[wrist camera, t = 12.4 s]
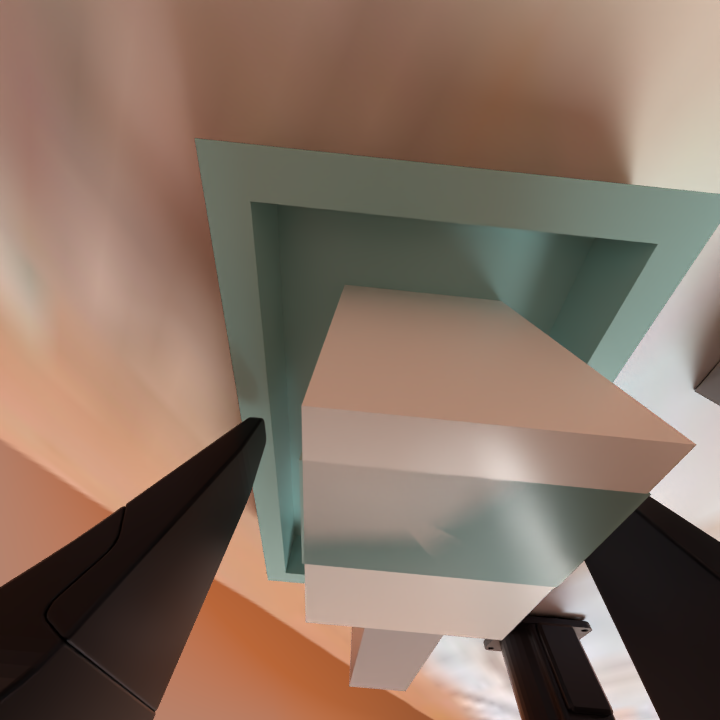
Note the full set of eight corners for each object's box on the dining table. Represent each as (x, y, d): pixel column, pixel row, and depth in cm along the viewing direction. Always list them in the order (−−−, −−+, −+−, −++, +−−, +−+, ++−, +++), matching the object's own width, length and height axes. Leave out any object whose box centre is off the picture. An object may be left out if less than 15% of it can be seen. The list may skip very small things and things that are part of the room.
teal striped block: (422, 523, 15) (449, 695, 10) (329, 514, 15) (305, 682, 10) (502, 301, 9) (700, 444, 3) (343, 284, 9) (298, 404, 3)
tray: (455, 548, 17) (467, 598, 15) (281, 532, 17) (268, 580, 15) (634, 198, 8) (738, 195, 5) (245, 158, 8) (194, 137, 5)
